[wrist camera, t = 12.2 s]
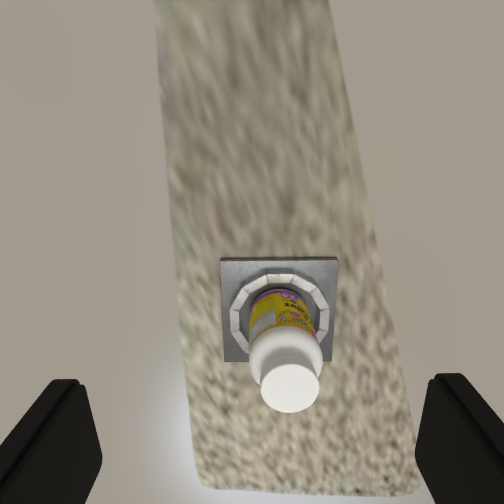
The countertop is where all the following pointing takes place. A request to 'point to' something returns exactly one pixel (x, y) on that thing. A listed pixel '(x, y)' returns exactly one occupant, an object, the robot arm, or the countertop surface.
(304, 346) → the supplement bottle
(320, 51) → the countertop surface
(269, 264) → the ring plate
